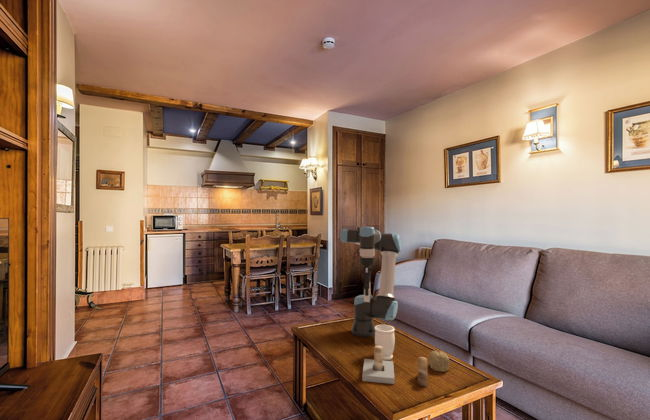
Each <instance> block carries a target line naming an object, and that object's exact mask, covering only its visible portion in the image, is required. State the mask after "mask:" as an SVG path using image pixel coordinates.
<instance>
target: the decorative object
mask: <svg viewBox="0 0 650 420" xmlns="http://www.w3.org/2000/svg"><path fill="white" fill-rule="evenodd" d="M428 361H429V367H430V369H432V370H433V371H436V372H443V373H445V372H447V371H449V369H450V358H449V356H448V355H447V353H445V352H444V351H441V350H440V351H439V350H432V351H430V353H429V360H428Z"/></svg>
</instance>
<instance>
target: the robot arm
mask: <svg viewBox="0 0 650 420" xmlns="http://www.w3.org/2000/svg"><path fill="white" fill-rule="evenodd" d="M339 239H340V241H341V243H346V244H347V243H349V244H353V245H354V244H355V245H358V246H359V250H358V252H359V264H360V265H361V266H362V265H363V268H362V270H363V278H364V279H363V286H362V289H363V294H359V295H357V296H355V298H354V303H353V313H354V314H353V315H354V316H353V318H354V319H353V323H352V326H351V334H352V335H354V336H355V337H360V338H370V337H375V332H376V330H375V326H376V325H375V324H374V323H375V322H374V319H379V320H385V321H394V319H396V316H397V313H398V309H399V301H397V300H396V297H395V295H394V289H395V272H396V260H397V259H396V258H397V257H398V256H399V254H400V253H401V252H402V249H403V247H402V245H403V244H402V239H401V236H400V234H398V233H383V232H382V233H381V232H380V231H379V230H377V229H375V227H374V226H361V227H360V228H359V229H354V228H353V229H350V228H349V229H348V228H346V229H345V228H343V229H342V230H341V231H340V234H339ZM376 251H377V252H380V254H381V269H380V280H379V291H378V294H376V296H375V298H374V296H373V295H372V294H371V283H372V279H371V275H372V267H371V266H373V265H375V264H376V263H375V255H376V254H375V253H376Z"/></svg>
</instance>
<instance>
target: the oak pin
mask: <svg viewBox="0 0 650 420" xmlns="http://www.w3.org/2000/svg"><path fill="white" fill-rule="evenodd" d="M417 361H418V362H417V372H418V371H419V370H423V371H426V372H427V373H428V358H427V357H424V356H418V358H417Z"/></svg>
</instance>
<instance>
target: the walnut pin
mask: <svg viewBox="0 0 650 420" xmlns="http://www.w3.org/2000/svg"><path fill="white" fill-rule="evenodd" d="M428 379H429V378H428V371H427V372H426V371H423V370H419V371H418V370H417V385H418V386H420V387H424V388H425V387H428Z"/></svg>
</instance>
